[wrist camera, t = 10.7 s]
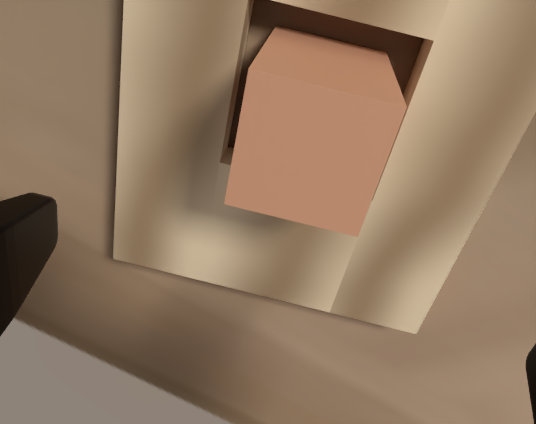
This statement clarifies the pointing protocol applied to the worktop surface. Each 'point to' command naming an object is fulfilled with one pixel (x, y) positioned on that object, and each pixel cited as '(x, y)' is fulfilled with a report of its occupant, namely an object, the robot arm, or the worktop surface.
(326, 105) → the tall peg
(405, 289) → the hole board
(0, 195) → the worktop surface
